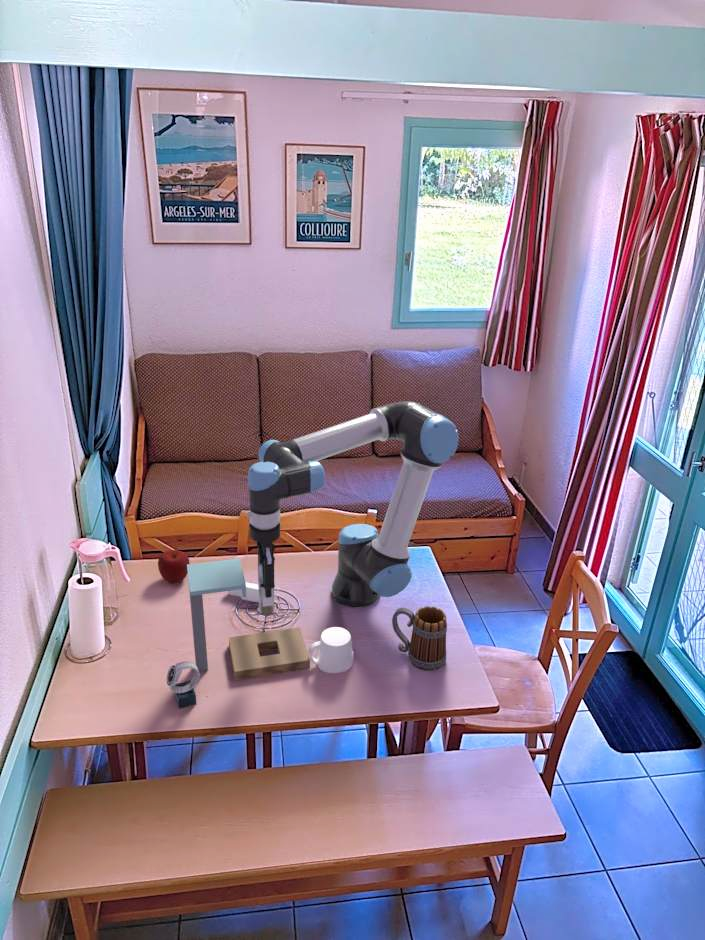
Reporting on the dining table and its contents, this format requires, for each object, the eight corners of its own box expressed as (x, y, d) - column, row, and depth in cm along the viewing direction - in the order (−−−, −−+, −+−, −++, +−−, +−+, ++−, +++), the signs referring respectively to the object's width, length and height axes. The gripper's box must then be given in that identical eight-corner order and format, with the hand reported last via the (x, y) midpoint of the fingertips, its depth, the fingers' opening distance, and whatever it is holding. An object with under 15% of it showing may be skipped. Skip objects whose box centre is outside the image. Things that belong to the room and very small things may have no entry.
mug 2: (449, 651, 203) (454, 608, 196) (441, 676, 194) (446, 631, 187) (396, 638, 207) (399, 595, 201) (385, 661, 198) (388, 617, 192)
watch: (167, 695, 185) (163, 662, 180) (198, 687, 188) (195, 654, 183) (171, 711, 180) (167, 677, 175) (203, 702, 183) (200, 668, 178)
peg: (258, 607, 193) (256, 563, 186) (273, 605, 194) (272, 561, 187) (260, 616, 189) (258, 571, 183) (275, 614, 190) (274, 569, 184)
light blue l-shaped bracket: (244, 646, 202) (239, 558, 189) (249, 675, 192) (245, 584, 179) (194, 653, 199) (186, 564, 186) (197, 683, 189) (189, 591, 176)
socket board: (299, 635, 207) (299, 627, 206) (309, 668, 195) (309, 660, 194) (229, 646, 202) (228, 637, 201) (235, 680, 190) (234, 671, 189)
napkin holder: (274, 602, 221) (274, 587, 219) (242, 615, 215) (241, 600, 213) (250, 578, 232) (249, 563, 229) (218, 590, 226) (217, 575, 223)
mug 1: (349, 624, 198) (356, 643, 191) (348, 651, 202) (355, 671, 195) (306, 630, 195) (312, 649, 188) (306, 657, 199) (311, 677, 192)
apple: (187, 589, 225) (184, 562, 220) (156, 588, 225) (153, 561, 221) (193, 572, 233) (191, 545, 229) (163, 571, 233) (161, 544, 229)
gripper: (245, 507, 186) (247, 582, 196) (254, 542, 171) (257, 621, 182) (274, 504, 188) (275, 579, 198) (285, 538, 173) (286, 617, 184)
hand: (266, 599), depth 190 cm, fingers closed on peg, 4 cm apart
